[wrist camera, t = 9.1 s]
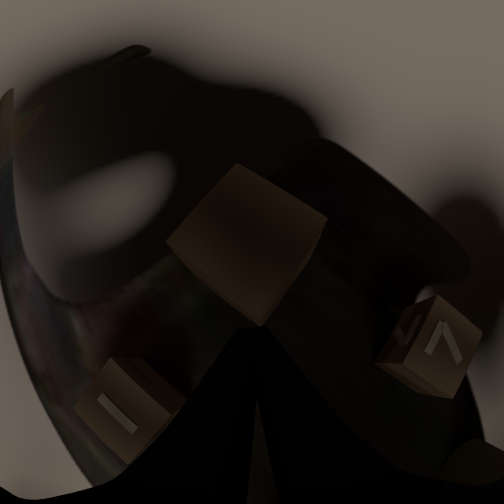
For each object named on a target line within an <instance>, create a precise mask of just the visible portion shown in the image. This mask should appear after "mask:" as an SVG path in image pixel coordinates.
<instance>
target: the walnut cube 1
mask: <svg viewBox="0 0 504 504" xmlns="http://www.w3.org/2000/svg"><path fill="white" fill-rule="evenodd" d="M187 400H188V398H186V397H185V396H184V395H183V394H182V393H180V392H179V391H178V390H177V389H176V388H175V387H173V386H172V385H171V384H170V383H169V382H168V381H166V380H165V379H164V378H163V377H162V376H161V375H160V374H159V373H157V372H156V371H155V370H154V369H153V368H152V367H151V366H150V365H149V364H148V363H147V362H146V361H144V360H143V359H142V358H124V357H110V358H109V360H108V361H107V362H106V364H105V365H104V366H103V368H102V369H101V370H100V372H99V373H98V374H97V376H96V377H95V379H94V380H93V381H92V383H91V384H90V386H89V387H88V388H87V390H86V391H85V393H84V394H83V395H82V397H81V398H80V400H79V401H78V402H77V404H76V405H75V407H74V408H73V409H74V410H75V412H76V413H77V414H78V415H79V416H80V417H81V418H82V420H83V421H84V422H85V423H86V424H87V425H88V426H89V427H90V428H91V429H92V430H93V431H94V433H95V434H96V435H97V436H98V437H99V438H100V439H101V440H102V441H103V442H104V443H105V444H106V445H107V446H108V447H109V448H110V449H111V450H113V451H114V452H115V453H116V454H117V455H118V456H119V457H120V458H121V459H122V460H123V461H124V462H126V463H127V464H129V463H131V462H132V461H134V460H135V459H136V458H138V457H139V456H140V455H141V454H142V453H143V452H144V451H145V450H146V449H147V448H148V447H149V446H150V445H151V444H152V443H153V442H154V441H155V440H156V438H157V437H158V436H159V435H160V434H161V433H162V432H163V431H164V430H165V429H166V427H167V426H168V425H169V424H170V422H171V421H172V420H173V419H174V417H175V416H176V415H177V413H178V412H179V411H180V409H181V408H182V406H185V402H186V401H187Z"/></svg>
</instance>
